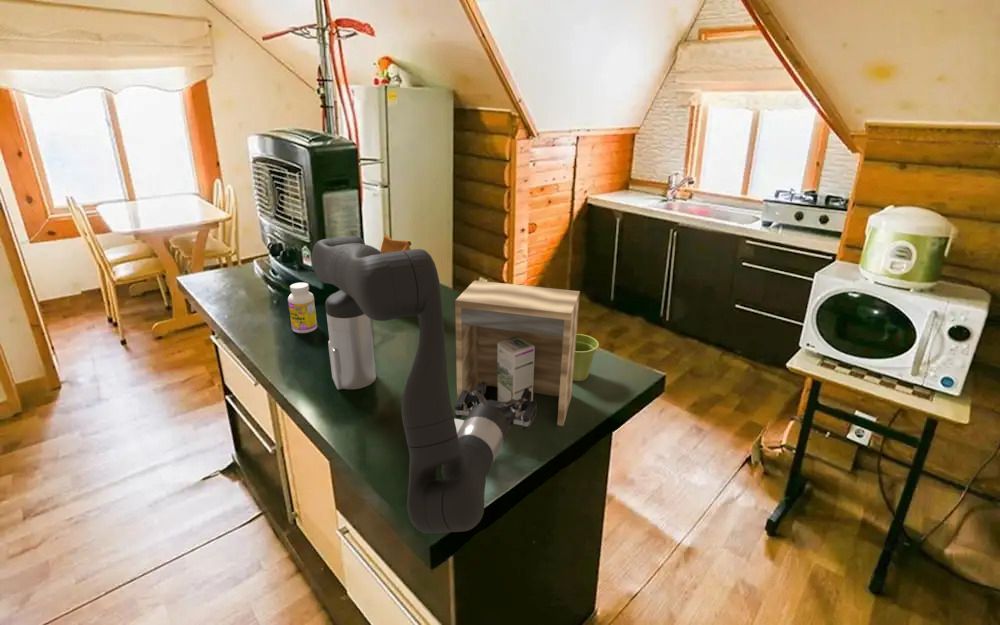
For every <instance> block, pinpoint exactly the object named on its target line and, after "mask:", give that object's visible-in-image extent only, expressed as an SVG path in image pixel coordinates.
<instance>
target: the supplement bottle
mask: <svg viewBox="0 0 1000 625" xmlns="http://www.w3.org/2000/svg"><path fill="white" fill-rule="evenodd" d="M289 290H290V292H291V293H290V294H289V296H288V298H287V303H288V304H287V305H288V310H289V317H290V323H291V324H290V325H291V330H292V331H293V332H294V333H297V334H309V333H311V332H313V331H315V330H316V329H317V328H318V320H317V313H316V312H317V311H316V306H315V296H314V294H313V293H312V292H310V291H309V290H310V285H309V283H308V282H295V283H292V284H291V285H289Z"/></svg>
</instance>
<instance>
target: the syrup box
mask: <svg viewBox="0 0 1000 625" xmlns="http://www.w3.org/2000/svg"><path fill="white" fill-rule="evenodd" d="M497 346H498V348H497V387H496V390H497V391H496V397H497V398H496V399H497V400H496V401H498V402H508V401H510V400H512V399H515V400H518V399H521V396H522V394H523V392H524V390H525V388H528V389H529V391H531V401H534V392H533V382H534V355H535V346H534V345H532V344H530V343H529V342H527V341H525V340H523V339H522V338H520V337H513V338H509V339H506V340H504V341H501V342H499V343H498V344H497ZM531 401H530V402H531ZM520 407H521V405H520V406H519V408H520ZM510 408H511V410H512V407H510Z"/></svg>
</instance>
